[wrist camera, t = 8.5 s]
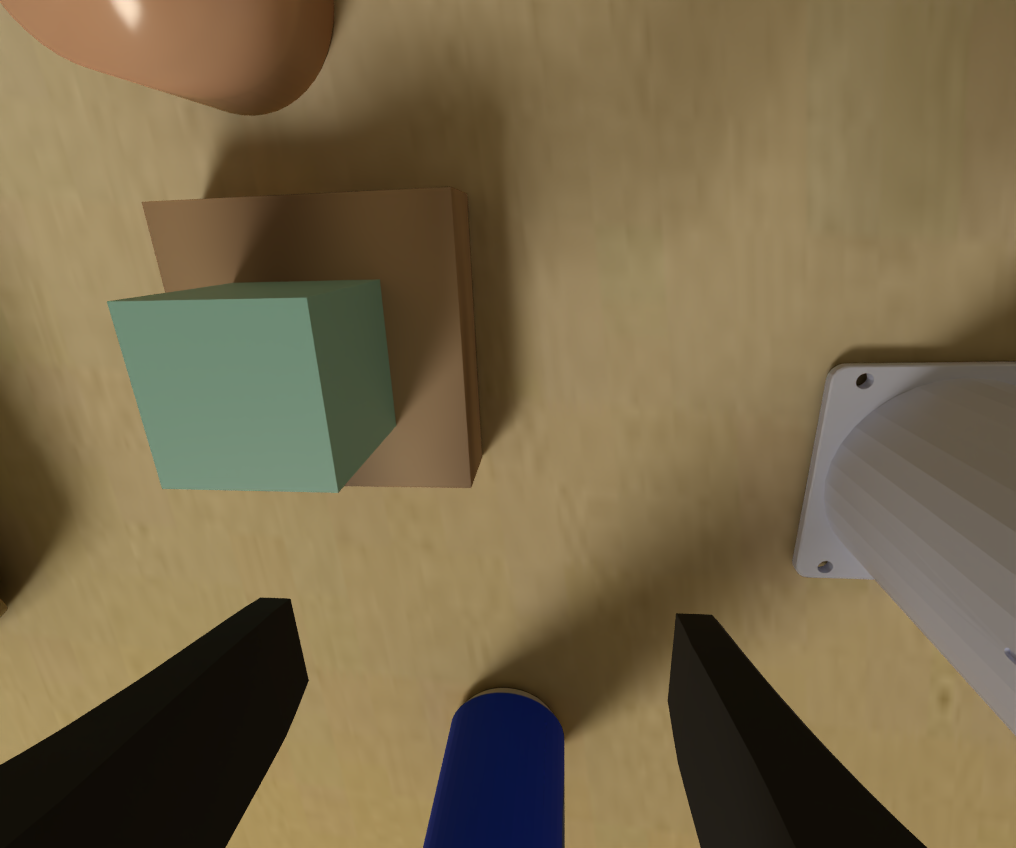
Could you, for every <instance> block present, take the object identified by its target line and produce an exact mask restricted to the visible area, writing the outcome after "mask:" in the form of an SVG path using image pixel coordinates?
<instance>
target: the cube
mask: <svg viewBox="0 0 1016 848" xmlns="http://www.w3.org/2000/svg"><path fill="white" fill-rule="evenodd" d="M107 303H108V307H109V310H110V314H111V317H112V320H113V324H114V327H115V331H116V334H117V337H118V341H119V344H120V347H121V351H122V354H123V358H124V361H125V364H126V368H127V371H128V375H129V378H130V381H131V385H132V388H133V392H134V395H135V398H136V402H137V405H138V408H139V412H140V415H141V419H142V422H143V425H144V429H145V432H146V436H147V439H148V442H149V446H150V449H151V452H152V456H153V459H154V463H155V466H156V469H157V473H158V476H159V480H160V483H161V486H162V489H196V490H241V491H286V492H331V493H338V492H339V491H340V490H341V489H342V488H343V487H344V485H345V484H346V483H347V482H348V481H349V480H350V479H351V477H352V476H353V475H354V474H355V473H356V472H357V470H358V469H359V468H360V467H361V466H362V465H363V464H364V462H365V461H366V460H367V459H368V458H369V457H370V455H371V454H372V453H373V452H374V451H375V450H376V449H377V447H378V446H379V445H380V444H381V443H382V442H383V441H384V439H385V438H386V437H387V436H388V435H389V434H390V432H391V431H392V430H393V429H394V428H395V427H396V419H395V410H394V401H393V392H392V384H391V375H390V366H389V357H388V348H387V339H386V330H385V321H384V312H383V303H382V294H381V286H380V279H376V280H333V281H289V282H245V283H228V284H222V285H215V286H208V287H201V288H195V289H188V290H181V291H174V292H168V293H161V294H154V295H148V296H141V297H134V298H127V299H121V300H114V301H107Z"/></svg>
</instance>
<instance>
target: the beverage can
mask: <svg viewBox="0 0 1016 848" xmlns="http://www.w3.org/2000/svg"><path fill="white" fill-rule="evenodd" d="M423 848H565V846H564V733H563V730H562V726H561V724H560V723H559V721H558V719H557V718H556V717H555V715H554V714H553V713H552V711H551V710H550V709H549V708H548V706H547V705H545V704H544V703H543V702H542V701H541V700H540V699H538V698H537V697H535V696H533V695H531V694H529V693H527V692H524V691H521V690H517V689H512V688H494V689H489V690H486V691H483V692H481V693H478V694H477V695H475V696H473V697H472V698H470V699H469V700H468V701H467V702H465V703H464V704H463V705H462V706H461V707H460V708H459V709H458V710H457V712H456V713H455V715H454V717H453V719H452V723H451V728H450V732H449V736H448V741H447V745H446V749H445V754H444V758H443V763H442V767H441V771H440V776H439V780H438V784H437V789H436V793H435V798H434V802H433V806H432V811H431V815H430V820H429V824H428V828H427V833H426V837H425V841H424V846H423Z"/></svg>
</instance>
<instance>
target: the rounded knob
mask: <svg viewBox="0 0 1016 848" xmlns="http://www.w3.org/2000/svg"><path fill="white" fill-rule="evenodd" d="M0 3H1V4H2V5H3V6H4V8H5V9H6V10H7V11H8V12H9V14H10V15H11V16H12V17H13V18H14V19H15V20H16V21H17V22H18V23H19V24H20V25H21V26H22V27H23V28H24V29H25V30H26V31H27V32H28V33H30V34H31V35H32V36H33V37H34V38H36V39H37V40H38V41H39V42H40V43H42V44H43V45H44V46H46V47H47V48H49V49H50V50H52V51H53V52H55V53H56V54H58V55H60V56H62V57H64V58H66V59H68V60H70V61H72V62H74V63H76V64H78V65H81V66H84V67H87V68H90V69H93V70H96V71H99V72H102V73H105V74H108V75H112V76H115V77H118V78H121V79H124V80H127V81H131V82H134V83H137V84H140V85H143V86H146V87H150V88H153V89H156V90H159V91H162V92H165V93H169V94H172V95H175V96H178V97H181V98H184V99H188V100H191V101H194V102H197V103H200V104H203V105H207V106H210V107H213V108H216V109H219V110H222V111H226V112H229V113H233V114H239V115H250V116H255V115H263V114H268V113H272V112H275V111H278V110H280V109H282V108H284V107H286V106H288V105H290V104H291V103H293V102H294V101H295V100H297V99H298V98H299V97H300V96H301V95H302V94H303V93H304V92H306V91H307V89H308V88H309V87H310V86H311V84H312V83H313V82H314V80H315V79H316V77H317V75H318V73H319V72H320V70H321V68H322V66H323V63H324V61H325V58H326V56H327V53H328V49H329V45H330V42H331V37H332V30H333V23H334V0H0Z"/></svg>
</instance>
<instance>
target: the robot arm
mask: <svg viewBox="0 0 1016 848" xmlns="http://www.w3.org/2000/svg"><path fill="white" fill-rule="evenodd" d="M864 373H867V379H866V381H865V382H864V383H863V384H862V385H858V386H856V380H857V378H858V377H859V376H860V375H861V374H864ZM823 561H828V562H827V563H826V564H825V565H824V566H820V567H818V565H819V564H820V563H821V562H823ZM792 562H793V566H794V568H795V569H796V571H797V572H798V574H800V575H801V576H804V577H814V578H846V579H875V580H876V582H877V583H878V584H879V585H880V586H881V587H882V588H883V589H884V590H885V591H886V593H887V594H888V595H889V596H890V597H891V598H892V599H893V600H894V601H895V603H896V604H897V605H898V606H899V607H900V608H901V609H902V610H903V611H904V613H905V614H906V615H907V616H908V617H909V618H910V619H911V620H912V621H913V623H914V624H915V625H916V626H917V627H918V628H919V629H920V630H921V631H922V633H923V634H924V635H925V636H926V637H927V638H928V639H929V640H930V641H931V643H932V644H933V645H934V646H935V647H936V648H937V649H938V650H939V651H940V653H941V654H942V655H943V656H944V657H945V658H946V659H947V660H948V661H949V663H950V664H951V665H952V666H953V667H954V668H955V669H956V670H957V671H958V672H959V674H960V675H961V676H962V677H963V678H964V679H965V680H966V681H967V682H968V684H969V685H970V686H971V687H972V688H973V689H974V690H975V691H976V692H977V694H978V695H979V696H980V697H981V698H982V699H983V700H984V701H985V702H986V704H987V705H988V706H989V707H990V708H991V709H992V710H993V711H994V712H995V714H996V715H997V716H998V717H999V718H1000V719H1001V720H1002V721H1003V722H1004V724H1005V725H1006V726H1007V727H1008V728H1009V729H1010V730H1011V731H1012V732H1013V734H1014V735H1015V736H1016V362H924V363H845V364H839V365H837V366H835V367H834V368H832V370H831V371H830V372H829V373H828V375H827V378H826V382H825V388H824V393H823V398H822V404H821V409H820V415H819V420H818V425H817V431H816V436H815V442H814V447H813V452H812V458H811V463H810V468H809V474H808V479H807V485H806V490H805V495H804V501H803V506H802V512H801V517H800V522H799V528H798V533H797V539H796V544H795V549H794V555H793V560H792ZM308 681H309V680H308V675H307V671H306V666H305V662H304V657H303V653H302V648H301V644H300V639H299V635H298V631H297V626H296V622H295V617H294V613H293V608H292V604H291V599H285V598H259V599H258V600H256V601H254V602H253V603H251V604H249V605H248V606H246V607H245V608H243V609H242V610H240V611H239V612H237V613H236V614H234V615H233V616H231V617H230V618H228V619H227V620H225V621H224V622H222V623H221V624H219V625H218V626H216V627H215V628H214V629H212V630H211V631H209V632H208V633H206V634H205V635H203V636H202V637H200V638H199V639H198V640H196V641H195V642H193V643H192V644H190V645H189V646H187V647H186V648H185V649H183V650H182V651H180V652H179V653H177V654H176V655H174V656H173V657H171V658H170V659H168V660H167V661H165V662H164V663H163V664H161V665H160V666H158V667H157V668H155V669H154V670H152V671H151V672H149V673H148V674H146V675H145V676H143V677H142V678H140V679H139V680H137V681H136V682H134V683H133V684H131V685H130V686H128V687H127V688H125V689H123V690H122V691H120V692H119V693H117V694H116V695H114V696H113V697H111V698H109V699H108V700H106V701H105V702H103V703H102V704H100V705H99V706H97V707H95V708H94V709H92V710H91V711H89V712H88V713H86V714H85V715H83V716H81V717H80V718H78V719H77V720H75V721H74V722H72V723H71V724H69V725H67V726H66V727H64V728H62V729H61V730H59V731H58V732H56V733H54V734H53V735H51V736H49V737H48V738H46V739H44V740H43V741H41V742H39V743H38V744H36V745H34V746H32V747H31V748H29V749H27V750H26V751H24V752H22V753H20V754H19V755H17V756H15V757H13V758H12V759H10V760H8V761H6V762H5V763H3V764H1V765H0V848H225V847H226V846H227V844H228V842H229V840H230V838H231V836H232V835H233V833H234V831H235V829H236V827H237V826H238V824H239V822H240V820H241V818H242V817H243V815H244V813H245V811H246V809H247V807H248V806H249V804H250V802H251V800H252V798H253V797H254V795H255V793H256V791H257V789H258V788H259V786H260V784H261V782H262V780H263V778H264V776H265V775H266V773H267V771H268V769H269V767H270V765H271V764H272V762H273V760H274V758H275V756H276V754H277V752H278V751H279V749H280V747H281V745H282V743H283V741H284V739H285V737H286V735H287V733H288V730H289V728H290V726H291V723H292V721H293V719H294V716H295V714H296V712H297V709H298V707H299V704H300V702H301V699H302V696H303V694H304V691H305V689H306V686H307V684H308ZM668 705H669V712H670V718H671V724H672V730H673V737H674V742H675V748H676V754H677V760H678V765H679V768H680V772H681V776H682V780H683V784H684V787H685V791H686V795H687V799H688V802H689V806H690V810H691V814H692V817H693V821H694V825H695V828H696V832H697V836H698V839H699V843H700V847H701V848H927V847H926V846H925V845H924V844H923V843H922V842H921V841H920V840H918V839H917V838H916V837H915V836H914V835H913V834H912V833H911V832H910V831H909V830H908V829H907V828H906V827H905V826H903V825H902V824H901V823H900V822H899V821H898V820H897V819H896V818H895V817H894V816H893V815H892V814H891V813H890V812H889V811H888V810H887V809H886V808H885V807H884V806H883V805H882V804H881V803H880V802H879V801H878V800H877V799H876V798H875V797H874V796H873V795H872V794H871V793H870V792H869V791H868V790H867V789H866V788H865V787H864V786H863V785H862V784H861V783H860V782H859V781H858V780H857V779H856V778H855V777H854V776H853V775H852V774H851V773H850V772H849V771H848V770H847V769H846V768H845V767H844V766H843V765H842V763H841V762H840V761H839V760H838V759H837V758H836V757H835V756H834V755H833V754H832V753H831V752H830V751H829V750H828V749H827V748H826V747H825V746H824V745H823V743H822V742H821V741H820V740H819V739H818V738H817V737H816V736H815V735H814V734H813V733H812V732H811V730H810V729H809V728H808V727H807V726H806V725H805V724H804V723H803V722H802V720H801V719H800V718H799V717H798V716H797V715H796V714H795V713H794V711H793V710H792V709H791V708H790V707H789V706H788V705H787V704H786V702H785V701H784V700H783V699H782V698H781V697H780V696H779V695H778V693H777V692H776V691H775V690H774V689H773V688H772V686H771V685H770V684H769V683H768V682H767V681H766V679H765V678H764V677H763V676H762V675H761V673H760V672H759V671H758V670H757V669H756V667H755V666H754V665H753V664H752V663H751V661H750V660H749V659H748V658H747V657H746V655H745V654H744V653H743V652H742V650H741V649H740V648H739V647H738V645H737V644H736V643H735V642H734V641H733V639H732V638H731V637H730V636H729V634H728V633H727V632H726V631H725V629H724V628H723V627H722V626H721V624H720V623H719V622H718V621H717V620H716V619H715V618H714V616H713V615H704V614H678V613H676V620H675V631H674V641H673V651H672V662H671V672H670V682H669V693H668Z"/></svg>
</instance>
